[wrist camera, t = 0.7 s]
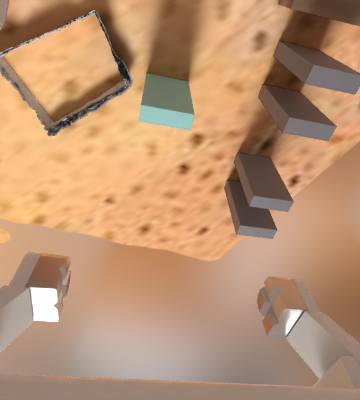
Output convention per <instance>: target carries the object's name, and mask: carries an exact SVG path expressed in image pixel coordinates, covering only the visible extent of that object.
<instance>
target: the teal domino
mask: <svg viewBox="0 0 360 400" xmlns="http://www.w3.org/2000/svg"><path fill="white" fill-rule="evenodd" d="M193 118H194V110H193V104H192V99H191V93H190V88H189V82H188V81H184V80H179V79H174V78H169V77H164V76H159V75H155V74H150V73H147V75H146V80H145V86H144V91H143V96H142V102H141V108H140V117H139V121H140V122H146V123H152V124H157V125H163V126H169V127H174V128H180V129H186V130H191V127H192V122H193Z"/></svg>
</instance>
